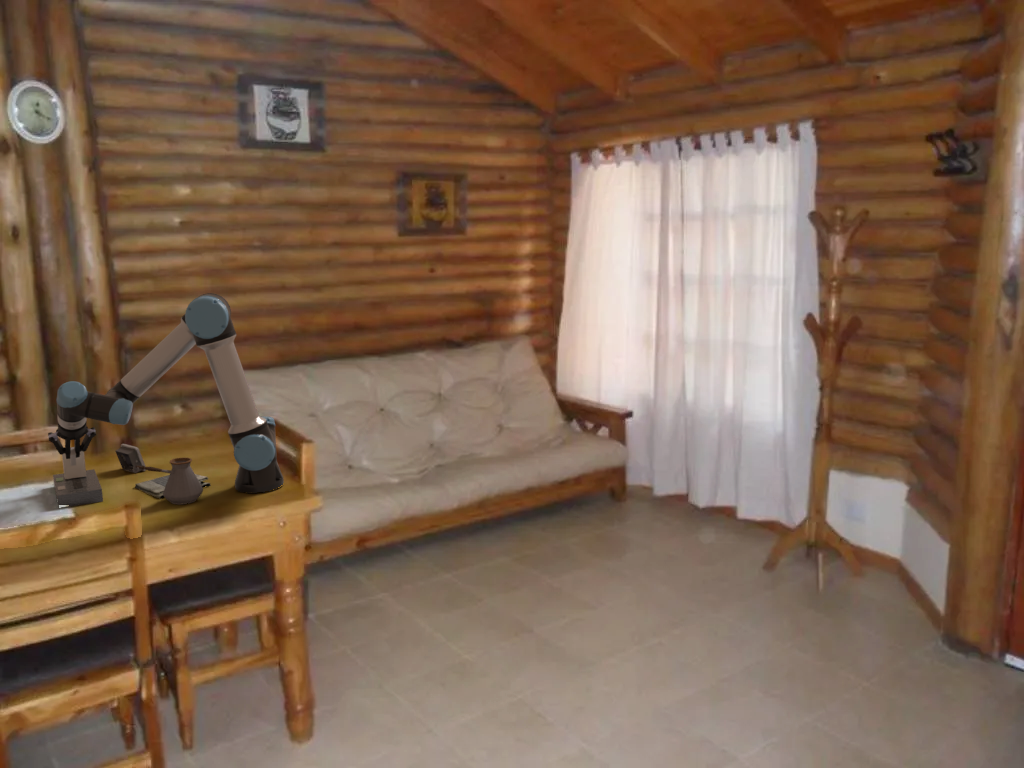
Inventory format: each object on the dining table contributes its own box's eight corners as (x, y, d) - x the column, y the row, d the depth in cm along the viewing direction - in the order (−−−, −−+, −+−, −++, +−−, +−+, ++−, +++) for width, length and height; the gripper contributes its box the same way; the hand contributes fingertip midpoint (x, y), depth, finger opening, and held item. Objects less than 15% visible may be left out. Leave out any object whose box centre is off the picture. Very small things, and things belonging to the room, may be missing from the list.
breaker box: (103, 501, 250) (101, 488, 249) (58, 508, 244) (57, 494, 243) (95, 480, 270) (94, 468, 269) (54, 486, 264) (52, 474, 263)
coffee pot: (187, 492, 259) (183, 446, 256) (211, 498, 253) (208, 451, 250) (126, 512, 241) (121, 463, 238) (151, 519, 235) (146, 469, 232)
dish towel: (133, 489, 264) (132, 479, 263) (185, 476, 277) (185, 467, 276) (160, 501, 252) (159, 491, 251) (214, 487, 265) (213, 478, 265)
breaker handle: (86, 476, 261) (83, 449, 259) (65, 479, 258) (62, 451, 256) (85, 473, 264) (82, 446, 262) (64, 476, 261) (61, 448, 259)
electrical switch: (147, 471, 281) (142, 445, 279) (133, 476, 277) (128, 450, 275) (131, 466, 286) (126, 442, 284) (117, 471, 282) (112, 446, 280)
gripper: (48, 433, 235) (50, 475, 252) (98, 428, 242) (97, 468, 259) (45, 412, 238) (47, 454, 255) (94, 407, 245) (93, 449, 262)
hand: (72, 461), depth 257 cm, fingers closed
